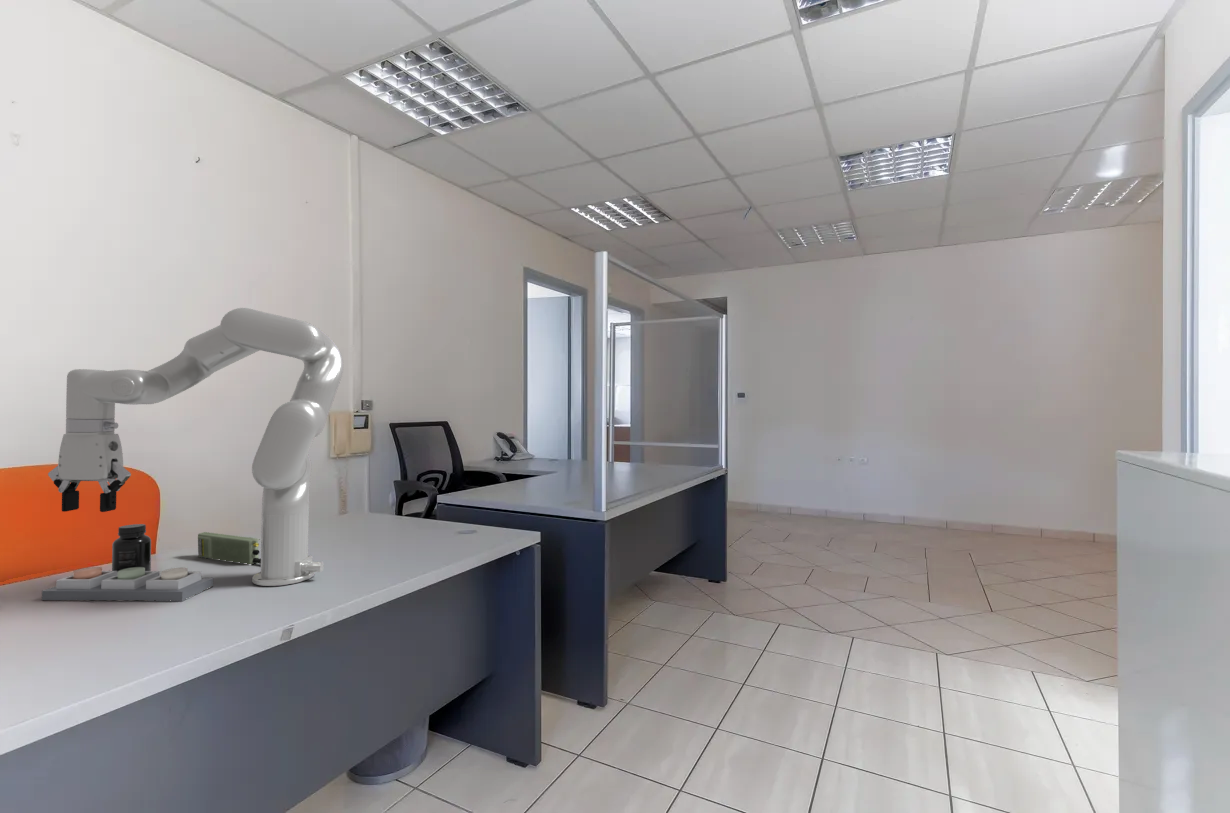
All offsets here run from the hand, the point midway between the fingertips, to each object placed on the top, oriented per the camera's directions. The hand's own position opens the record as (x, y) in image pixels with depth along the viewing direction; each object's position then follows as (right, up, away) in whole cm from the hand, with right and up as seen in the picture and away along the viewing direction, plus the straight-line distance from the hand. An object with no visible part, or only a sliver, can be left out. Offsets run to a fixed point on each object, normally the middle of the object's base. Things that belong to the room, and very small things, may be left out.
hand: (89, 510), depth 116 cm
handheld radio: (+14, -19, +25) cm, 34 cm away
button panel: (+9, -18, 0) cm, 20 cm away
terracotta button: (0, -15, 0) cm, 15 cm away
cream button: (+18, -15, +1) cm, 23 cm away
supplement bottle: (-1, -18, +11) cm, 21 cm away
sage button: (+9, -15, 0) cm, 17 cm away
